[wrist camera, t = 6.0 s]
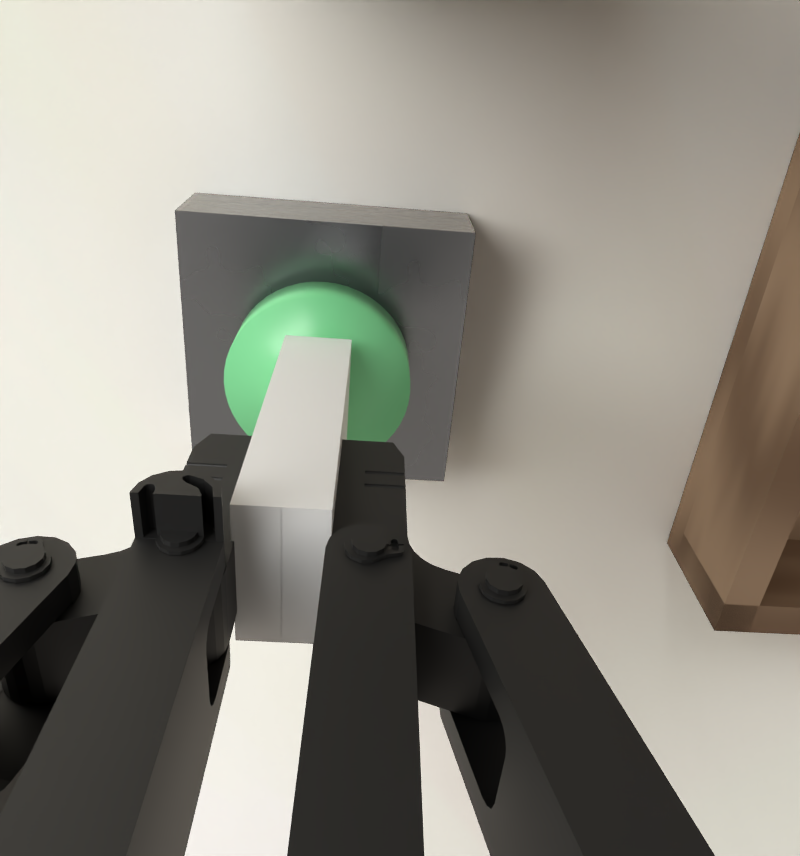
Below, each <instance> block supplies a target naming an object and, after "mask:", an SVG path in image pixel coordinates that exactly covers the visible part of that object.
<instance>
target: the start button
mask: <svg viewBox="0 0 800 856" xmlns="http://www.w3.org/2000/svg"><path fill="white" fill-rule="evenodd" d="M285 335H291V336H306V337H321V338H336V339H350V340H352V345H351V365H350V386H349V406H348V427H347V440H359V441H376V442H386V441H387V440H388V439H389V438H390V437H391V436H392V435H393V434H394V432H395V431H396V429H397V428H398V426H399V425H400V423H401V421H402V419H403V417H404V415H405V413H406V410H407V406H408V403H409V397H410V370H409V358H408V350H407V347H406V343H405V340H404V338H403V335H402V333H401V331H400V329H399V327H398V326H397V324H396V322H395V321H394V319H393V318H392V317H391V316H390V314H389V313H388V312H387V311H386V310H385V309H384V308H383V307H382V306H381V305H380V304H379V303H377V302H376V301H375V300H373V299H372V298H370V297H369V296H367V295H365V294H364V293H362V292H360V291H358V290H355V289H353V288H350V287H348V286H344V285H341V284H337V283H330V282H304V283H298V284H294V285H290V286H287V287H285V288H282V289H280V290H277V291H275V292H274V293H272V294H270V295H268V296H267V297H266V298H264V299H263V300H262V301H260V302H259V303H258V304H257V305H256V306H255V307H254V308H253V309H252V310H251V311H250V312H249V314H248V315H247V317H246V318H245V319H244V321H243V323H242V325H241V327H240V329H239V331H238V333H237V335H236V337H235V339H234V341H233V343H232V345H231V347H230V350H229V353H228V355H227V358H226V363H225V369H224V387H225V394H226V398H227V401H228V404H229V407H230V409H231V412H232V414H233V416H234V417H235V419H236V421H237V422H238V424H239V425H240V426H241V428H242V429H243V430H244V432H245V433H246V434H247V435H248V436H252V435H253V432H254V429H255V426H256V423H257V420H258V417H259V414H260V410H261V407H262V404H263V401H264V398H265V395H266V392H267V389H268V386H269V383H270V380H271V377H272V374H273V371H274V368H275V365H276V362H277V359H278V356H279V353H280V350H281V347H282V344H283V341H284V338H285Z"/></svg>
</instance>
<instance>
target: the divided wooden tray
mask: <svg viewBox="0 0 800 856" xmlns="http://www.w3.org/2000/svg"><path fill="white" fill-rule="evenodd" d="M667 544H668V545H669V547H670V549H671V551H672V553H673V555H674V557H675V558H676V560H677V562H678V564H679V566H680V568H681V570H682V571H683V573H684V575H685V577H686V579H687V581H688V582H689V584H690V586H691V588H692V590H693V592H694V594H695V595H696V597H697V599H698V601H699V603H700V605H701V607H702V608H703V610H704V612H705V614H706V616H707V618H708V620H709V621H710V623H711V625H712V627H713V629H714V630H716V631H737V632H758V633H779V634H800V134H799V137H798V140H797V143H796V146H795V149H794V152H793V155H792V159H791V162H790V165H789V168H788V171H787V174H786V177H785V180H784V183H783V186H782V189H781V193H780V196H779V199H778V202H777V205H776V208H775V211H774V214H773V217H772V220H771V223H770V227H769V230H768V233H767V236H766V239H765V242H764V245H763V248H762V251H761V254H760V257H759V261H758V264H757V267H756V270H755V273H754V276H753V279H752V282H751V285H750V288H749V291H748V295H747V298H746V301H745V304H744V307H743V310H742V313H741V316H740V319H739V322H738V325H737V329H736V332H735V335H734V338H733V341H732V344H731V347H730V350H729V353H728V356H727V359H726V362H725V366H724V369H723V372H722V375H721V378H720V381H719V384H718V387H717V390H716V393H715V396H714V400H713V403H712V406H711V409H710V412H709V415H708V418H707V421H706V424H705V427H704V430H703V434H702V437H701V440H700V443H699V446H698V449H697V452H696V455H695V458H694V461H693V464H692V468H691V471H690V474H689V477H688V480H687V483H686V486H685V489H684V492H683V495H682V498H681V502H680V505H679V508H678V511H677V514H676V517H675V520H674V523H673V526H672V529H671V532H670V536H669V539H668V542H667Z"/></svg>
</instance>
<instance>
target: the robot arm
mask: <svg viewBox="0 0 800 856" xmlns="http://www.w3.org/2000/svg"><path fill="white" fill-rule="evenodd" d="M351 345H352V340H350V339H336V338H321V337H306V336H291V335H285V338H284V341H283V344H282V347H281V350H280V353H279V356H278V359H277V362H276V365H275V368H274V371H273V374H272V377H271V380H270V383H269V386H268V389H267V392H266V395H265V398H264V401H263V404H262V407H261V410H260V414H259V417H258V420H257V423H256V426H255V429H254V432H253V435H252V436H245V435H228V434H212V433H211V434H210V435H209V436H207V437H206V438H205V439H203V440H202V441H201V442H199V443H198V444H197V445H195V446H194V448H193V450H192V452H191V454H190V456H189V459H188V461H187V465H185V467H184V470H182V471H168V472H164V473H160V474H156V475H152V476H150V477H148V478H146V479H145V480H143V481H141V482H139V483H138V484H137V485H136V486H135V487H134V488H133V489H132V490H131V491H130V500H131V508H132V516H133V524H134V532H135V539H134V541H133V543H132V545H131V547H130V548H127V549H125V550H122V551H119V552H115V553H110V554H106V555H100V556H93V557H87V558H81V559H77V557H76V552H75V550H74V549H73V548H72V547H71V546H70V544H69V543H67V542H65V541H63V540H60V539H58V538H55V537H42V536H35V537H29V538H22V539H17V540H14V541H12V542H9V543H6V544H3V545H1V546H0V856H184V855H185V851H186V847H187V843H188V838H189V834H190V830H191V826H192V822H193V818H194V814H195V809H196V805H197V801H198V797H199V793H200V789H201V785H202V781H203V776H204V772H205V768H206V764H207V760H208V756H209V752H210V747H211V743H212V739H213V735H214V731H215V727H216V723H217V718H218V714H219V710H220V706H221V702H222V698H223V694H224V690H225V685H226V681H227V677H228V673H229V669H230V645H229V641H230V637H231V633H232V630H233V626H234V622H235V635H236V640H244V641H266V642H288V643H310V644H313V652H312V660H311V668H310V676H309V684H308V692H307V700H306V708H305V716H304V725H303V733H302V741H301V749H300V757H299V765H298V773H297V781H296V789H295V797H294V805H293V813H292V821H291V830H290V838H289V846H288V854H287V856H424V841H423V816H422V792H421V767H420V742H419V718H418V700H419V701H422V702H425V703H428V704H431V705H434V706H437V707H440V715H441V719H442V722H443V724H444V727H445V730H446V733H447V736H448V738H449V741H450V744H451V747H452V750H453V752H454V755H455V758H456V761H457V764H458V766H459V769H460V772H461V775H462V777H463V780H464V783H465V786H466V789H467V791H468V794H469V797H470V800H471V803H472V805H473V808H474V811H475V814H476V816H477V819H478V822H479V825H480V828H481V830H482V833H483V836H484V839H485V842H486V844H487V847H488V850H489V853H490V856H715V855H714V853H713V852H712V850H711V849H710V847H709V845H708V844H707V842H706V841H705V839H704V837H703V836H702V834H701V833H700V831H699V829H698V828H697V826H696V825H695V823H694V821H693V820H692V818H691V817H690V815H689V813H688V812H687V810H686V808H685V807H684V805H683V804H682V802H681V800H680V799H679V797H678V796H677V794H676V792H675V791H674V789H673V788H672V786H671V784H670V783H669V781H668V780H667V778H666V776H665V775H664V773H663V772H662V770H661V768H660V767H659V765H658V763H657V762H656V760H655V759H654V757H653V755H652V754H651V752H650V751H649V749H648V747H647V746H646V744H645V743H644V741H643V739H642V738H641V736H640V735H639V733H638V731H637V730H636V728H635V727H634V725H633V723H632V722H631V720H630V718H629V717H628V715H627V714H626V712H625V710H624V709H623V707H622V706H621V704H620V702H619V701H618V699H617V698H616V696H615V694H614V693H613V691H612V690H611V688H610V686H609V685H608V683H607V682H606V680H605V678H604V677H603V675H602V674H601V672H600V670H599V669H598V667H597V665H596V664H595V662H594V661H593V659H592V657H591V656H590V654H589V653H588V651H587V649H586V648H585V646H584V645H583V643H582V641H581V640H580V638H579V637H578V635H577V633H576V632H575V630H574V629H573V627H572V625H571V624H570V622H569V620H568V619H567V617H566V616H565V614H564V612H563V611H562V609H561V608H560V606H559V604H558V603H557V601H556V600H555V598H554V596H553V595H552V593H551V592H550V590H549V588H548V587H547V585H546V584H545V582H544V581H543V580H542V579H541V578H540V576H539V575H538V574H537V573H536V572H535V571H534V570H532V569H530V568H528V567H527V566H525V565H523V564H521V563H519V562H516V561H512V560H508V559H505V558H484V559H480V560H477V561H473V562H471V563H470V564H469V565H467V566H466V567H465V568H463V569H462V571H461V573H460V574H458V573H455V572H451V571H448V570H444V569H442V568H439V567H436V566H434V565H431V564H430V563H428V562H426V561H425V560H423V559H422V558H420V557H419V556H418V555H417V554H416V553H415V552H414V551H413V549H412V548H411V546H410V544H409V541H408V537H407V516H406V489H405V462H404V456H403V455H402V453H401V452H400V451H399V449H398V448H397V447H396V446H395V444H394V443H393V442H376V441H359V440H347V427H348V406H349V386H350V365H351Z"/></svg>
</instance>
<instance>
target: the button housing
mask: <svg viewBox="0 0 800 856" xmlns="http://www.w3.org/2000/svg"><path fill="white" fill-rule="evenodd" d="M175 219H176V232H177V246H178V260H179V274H180V288H181V302H182V316H183V330H184V344H185V357H186V371H187V385H188V399H189V413H190V427H191V441H192V450H193V448H194V446H195V445H197V444H198V443H199V442H201V441H202V440H203V439H205V438H206V437H207V436H209V435H210V434H211V433H212V434H228V435H245V436H248V435H247V434H246V433H245V432H244V430H243V429H242V428H241V426H240V425H239V424H238V422H237V421H236V419H235V417H234V416H233V414H232V412H231V409H230V407H229V404H228V401H227V398H226V394H225V387H224V369H225V363H226V358H227V355H228V353H229V350H230V347H231V345H232V343H233V341H234V339H235V337H236V335H237V333H238V331H239V329H240V327H241V325H242V323H243V321H244V319H245V318H246V317H247V315H248V314H249V312H250V311H251V310H252V309H253V308H254V307H255V306H256V305H257V304H258V303H259V302H260V301H262V300H263V299H264V298H266V297H267V296H268V295H270V294H272V293H274V292H275V291H277V290H280V289H282V288H285V287H287V286H290V285H294V284H298V283H304V282H330V283H337V284H341V285H344V286H348V287H350V288H353V289H355V290H358V291H360V292H362V293H364V294H365V295H367V296H369V297H370V298H372V299H373V300H375V301H376V302H377V303H379V304H380V305H381V306H382V307H383V308H384V309H385V310H386V311H387V312H388V313H389V314H390V316H391V317H392V318H393V319H394V321H395V322H396V324H397V326H398V327H399V329H400V331H401V333H402V335H403V338H404V340H405V343H406V347H407V350H408V358H409V370H410V397H409V403H408V406H407V410H406V413H405V415H404V417H403V419H402V421H401V423H400V425H399V426H398V428H397V429H396V431H395V432H394V434H393V435H392V436H391V437H390V438H389V439H388V440H387V441H386V442H393V443H394V444H395V446H396V447H397V448H398V449H399V451H400V452H401V453H402V455H403V456H404V462H405V479H417V480H434V481H444V476H445V468H446V460H447V452H448V445H449V437H450V429H451V421H452V413H453V406H454V398H455V390H456V382H457V375H458V367H459V359H460V351H461V343H462V336H463V328H464V320H465V312H466V304H467V297H468V289H469V281H470V273H471V265H472V258H473V250H474V242H475V234H476V233H475V230H474V228H473V225H472V223H471V221H470V218H469V216H468V214H466V213H453V212H440V211H427V210H414V209H401V208H388V207H375V206H362V205H348V204H335V203H322V202H309V201H296V200H283V199H270V198H257V197H244V196H230V195H217V194H204V193H194V194H193V195H192V196H191V197H190V198H189V199H187V200H186V201H185V202H184V203H183V204H182V205H181V206H179V207H178V208H177V209H176V210H175Z"/></svg>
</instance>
